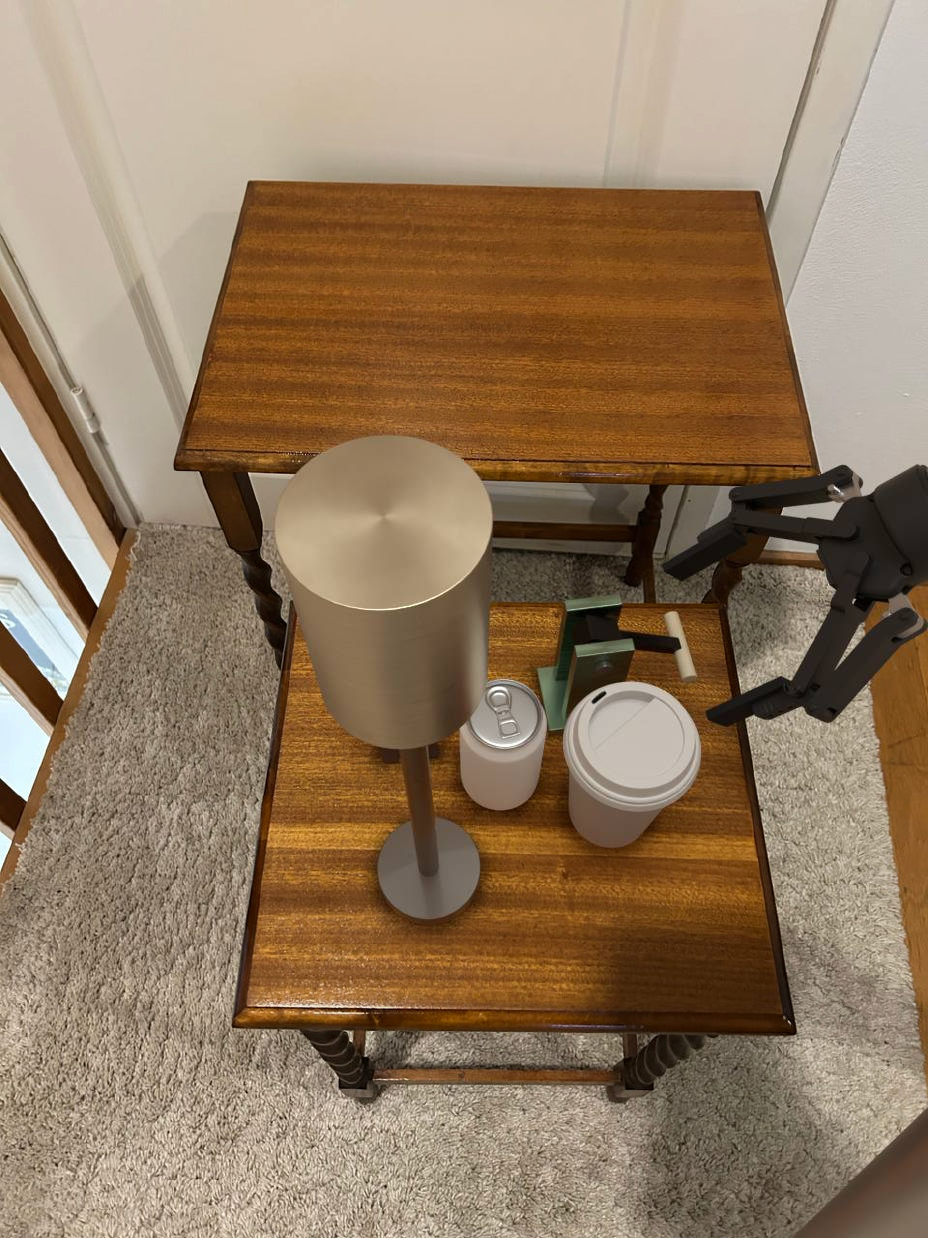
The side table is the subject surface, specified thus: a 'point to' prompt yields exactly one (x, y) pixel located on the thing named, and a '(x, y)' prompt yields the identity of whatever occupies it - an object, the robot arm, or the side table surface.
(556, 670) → the bracket
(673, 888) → the side table surface
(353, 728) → the lamp
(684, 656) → the lever
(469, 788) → the can
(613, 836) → the coffee cup
